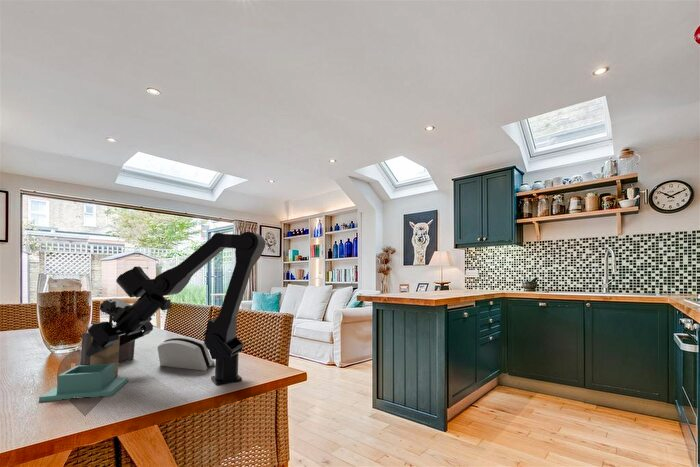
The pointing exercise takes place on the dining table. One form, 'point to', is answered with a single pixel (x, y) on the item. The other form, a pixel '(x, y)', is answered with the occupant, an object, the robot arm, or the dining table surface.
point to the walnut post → (107, 356)
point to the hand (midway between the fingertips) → (100, 351)
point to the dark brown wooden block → (124, 351)
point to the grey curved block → (184, 353)
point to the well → (86, 382)
